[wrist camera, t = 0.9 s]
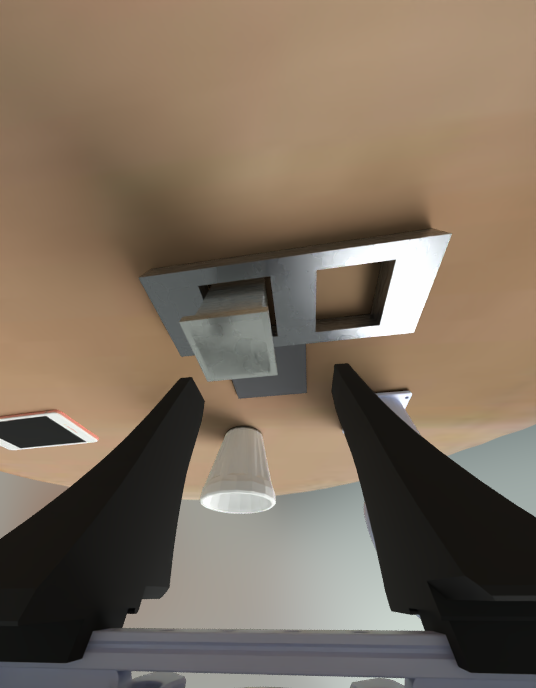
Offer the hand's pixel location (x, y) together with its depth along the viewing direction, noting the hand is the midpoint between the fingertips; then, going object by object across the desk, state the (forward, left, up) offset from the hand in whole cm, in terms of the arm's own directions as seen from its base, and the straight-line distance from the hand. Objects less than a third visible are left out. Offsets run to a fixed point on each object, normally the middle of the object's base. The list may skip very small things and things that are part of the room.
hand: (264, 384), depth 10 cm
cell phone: (-18, +41, -11) cm, 46 cm away
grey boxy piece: (0, +2, -10) cm, 10 cm away
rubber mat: (-9, +1, -10) cm, 14 cm away
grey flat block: (0, -2, -10) cm, 10 cm away
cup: (-24, +7, -10) cm, 27 cm away
